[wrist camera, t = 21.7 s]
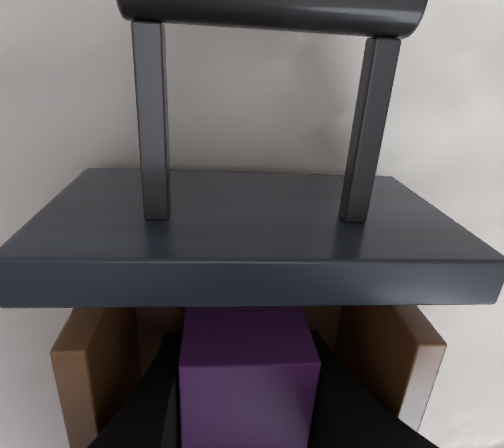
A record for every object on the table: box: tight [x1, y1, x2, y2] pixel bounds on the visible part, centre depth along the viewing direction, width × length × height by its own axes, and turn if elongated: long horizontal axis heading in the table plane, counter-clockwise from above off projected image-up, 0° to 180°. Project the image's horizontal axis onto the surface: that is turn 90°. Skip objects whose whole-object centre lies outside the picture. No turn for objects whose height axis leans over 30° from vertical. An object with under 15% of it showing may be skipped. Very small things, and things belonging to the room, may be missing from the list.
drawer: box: [0, 0, 504, 448], centre depth 12 cm, size 18×11×6 cm, turn 177°
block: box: [178, 306, 321, 448], centre depth 13 cm, size 4×4×4 cm
